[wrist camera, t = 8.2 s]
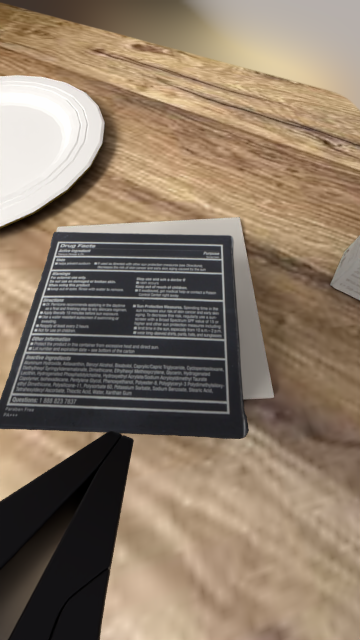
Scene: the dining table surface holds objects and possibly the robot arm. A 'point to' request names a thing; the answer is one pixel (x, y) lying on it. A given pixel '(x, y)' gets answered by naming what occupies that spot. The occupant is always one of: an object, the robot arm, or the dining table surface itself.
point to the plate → (43, 142)
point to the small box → (131, 339)
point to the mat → (250, 333)
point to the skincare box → (349, 271)
